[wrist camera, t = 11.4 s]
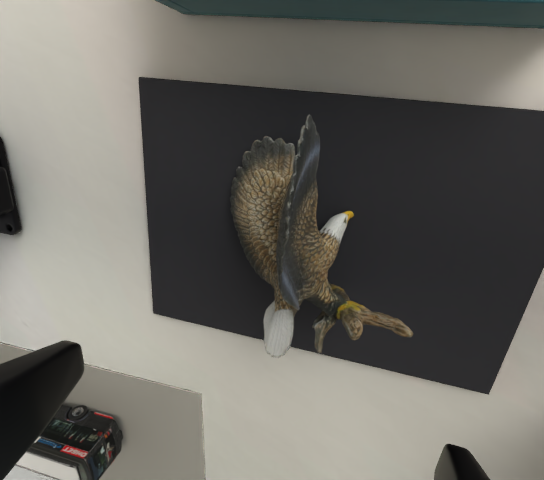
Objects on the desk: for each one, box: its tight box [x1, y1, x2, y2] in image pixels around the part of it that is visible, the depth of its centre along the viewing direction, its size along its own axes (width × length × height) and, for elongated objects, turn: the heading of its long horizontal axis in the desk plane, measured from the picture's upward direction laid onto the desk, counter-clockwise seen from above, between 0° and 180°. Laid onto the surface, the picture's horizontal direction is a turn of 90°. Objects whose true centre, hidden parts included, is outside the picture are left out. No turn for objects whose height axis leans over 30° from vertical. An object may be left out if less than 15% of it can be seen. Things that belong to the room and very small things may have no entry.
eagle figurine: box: [230, 115, 413, 357], centre depth 15 cm, size 8×7×9 cm
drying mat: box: [139, 77, 544, 394], centre depth 18 cm, size 20×14×1 cm
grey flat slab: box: [0, 343, 205, 480], centre depth 28 cm, size 14×25×4 cm, turn 87°
